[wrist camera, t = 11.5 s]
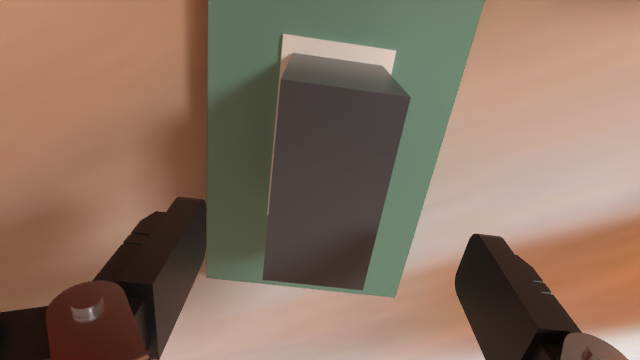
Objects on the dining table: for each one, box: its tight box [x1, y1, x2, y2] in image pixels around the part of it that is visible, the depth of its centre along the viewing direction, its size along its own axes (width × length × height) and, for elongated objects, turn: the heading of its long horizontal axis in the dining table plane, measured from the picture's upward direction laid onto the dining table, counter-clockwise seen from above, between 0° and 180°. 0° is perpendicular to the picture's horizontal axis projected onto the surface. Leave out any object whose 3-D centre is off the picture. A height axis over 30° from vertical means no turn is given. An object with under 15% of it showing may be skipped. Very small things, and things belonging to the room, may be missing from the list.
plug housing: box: [262, 53, 411, 291], centre depth 16 cm, size 8×4×6 cm, turn 172°
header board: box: [206, 0, 485, 298], centre depth 19 cm, size 20×12×4 cm, turn 172°
